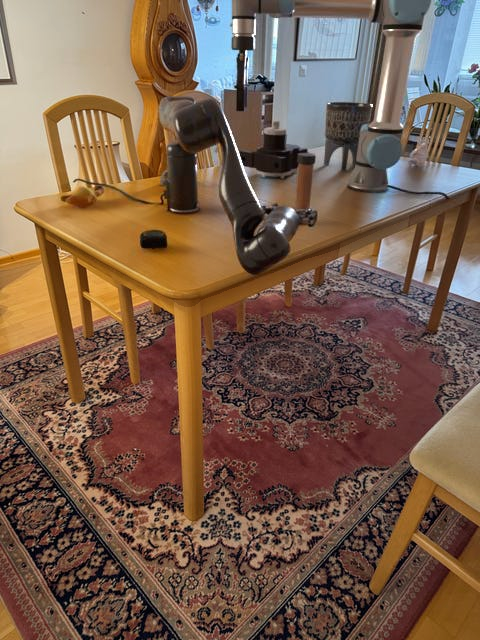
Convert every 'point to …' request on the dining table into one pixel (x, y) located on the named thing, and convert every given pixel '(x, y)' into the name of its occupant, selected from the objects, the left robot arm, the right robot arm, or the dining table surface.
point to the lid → (306, 158)
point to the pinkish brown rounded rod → (303, 186)
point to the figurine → (419, 153)
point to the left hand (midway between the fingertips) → (292, 208)
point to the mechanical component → (273, 154)
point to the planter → (344, 129)
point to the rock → (164, 177)
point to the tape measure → (153, 239)
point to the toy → (83, 196)
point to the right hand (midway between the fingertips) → (241, 109)
